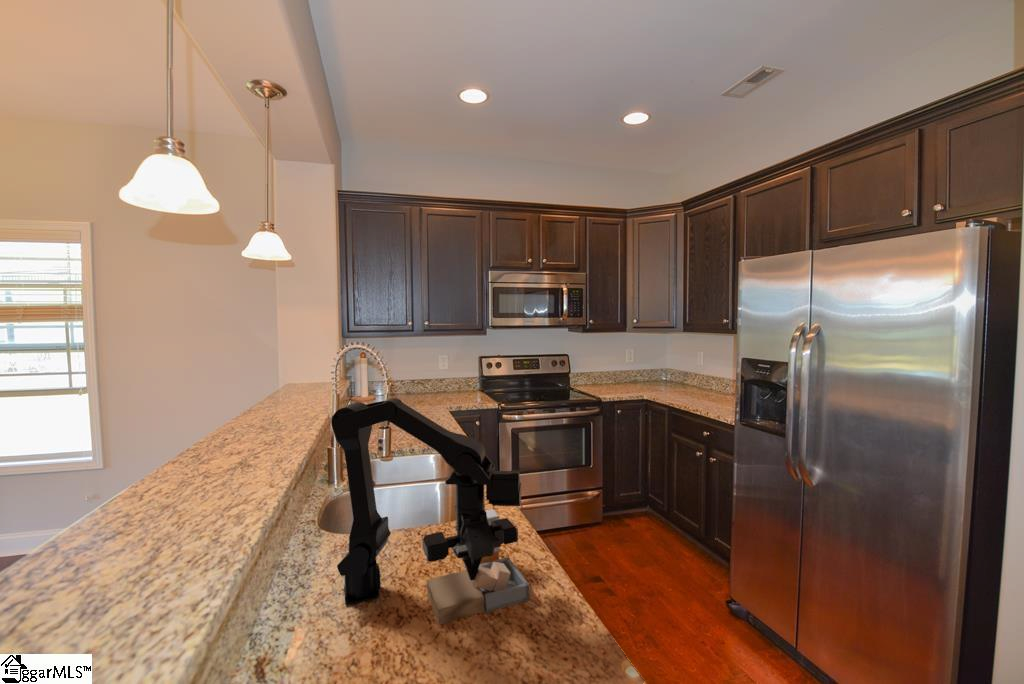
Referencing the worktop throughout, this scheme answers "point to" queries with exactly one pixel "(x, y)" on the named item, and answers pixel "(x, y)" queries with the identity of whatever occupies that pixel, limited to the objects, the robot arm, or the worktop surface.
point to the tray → (514, 590)
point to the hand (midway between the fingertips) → (471, 579)
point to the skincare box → (492, 517)
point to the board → (454, 597)
